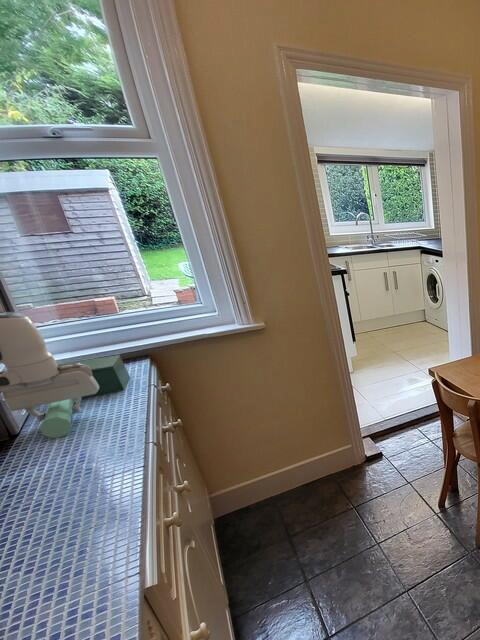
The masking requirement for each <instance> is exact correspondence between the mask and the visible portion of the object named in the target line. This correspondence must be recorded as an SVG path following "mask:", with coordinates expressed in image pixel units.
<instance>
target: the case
mask: <svg viewBox="0 0 480 640" xmlns="http://www.w3.org/2000/svg"><path fill="white" fill-rule="evenodd" d="M92 373H93V374H92V376H93V377H94V379H95V380H96V381H97V383H98V385H99V390H98V392H97V393H96V394H92V395H87V396H82V397H81V400H84V399H89V398H93V397H98V396H102V395H109V394H112V393H117V392H122V391H125V389H126V387H127V386H128V383H129V381H130V379H131V376H130V374H129V372H128V370H127V368H126V365H125V363H124V361H123V359H122V357H121V356H120V358H119V360H118V362H117V363H116V365H115V367H114V368H112V369H106V370H100V371H94V372H92Z"/></svg>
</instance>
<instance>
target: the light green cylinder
mask: <svg viewBox="0 0 480 640" xmlns="http://www.w3.org/2000/svg"><path fill="white" fill-rule="evenodd" d="M72 406H74V402H73V401H72V399H68V400H63V401H58V402H54V403H49V404H47V407H46V411H45V413H46V414H45V418H44V420H42V421H41V422H42V423H41V424H40V425H39V427H38V428H39V431H40V432H41V434H42V435H43V436H44V437H48V438H53V439H58V438H61V437H64V436H67V435H69V433H70V431H71V430H72V429H73V424H72V423H71V422H72V416H73V411H72V409H71V408H72Z"/></svg>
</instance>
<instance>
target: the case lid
mask: <svg viewBox="0 0 480 640" xmlns="http://www.w3.org/2000/svg"><path fill="white" fill-rule="evenodd" d="M120 357H121V355H120V354H115V355H109V356H102V357H97V358H91V359H84V360H83V359H82V360H78V361H77V360H76V361H71V362H65V363H64V362H63V363H57V365H58V367H61V366H67V365H73V364H84V365H87V366H89V367H90V369H91V371H92V372H94V371H100V370H106V369H112V368H114V367H115V365H116V363H117V362H118V360H119V358H120ZM81 367H82V366H81Z"/></svg>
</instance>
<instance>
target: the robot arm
mask: <svg viewBox="0 0 480 640" xmlns="http://www.w3.org/2000/svg"><path fill="white" fill-rule="evenodd" d="M0 364H3V365H4V367H5V368H6V369H5V370H2V371H0V391H1V392H2V393H3V396H4V399H5V401H6V402H7V404H8V406H9V409H10V410H11V412H15V411H20V410H25V412H26V413H28V414H30V415H32V416H34V417H35V418H36V420H37V421H38V422H43V421H44V418H45V414H46V411H45V412H40V411H38V410H37V409H36V408H37V407H39V406H43V405H48V404H49V403H54V402H58V401H63V400H68V399H72V401H73V403H75V404H74V405H73V406H72V408H71V409H72V414H77V413H81V412H82V411H83V410H82V407H81V406H80V405H81V402H82V399H81V397H82V396H87V395H92V394H96V393H97V392H98V390H99V385H98V383H97V381H96V380H95V379H94V377H93V376H92V374H93V373H92V371H91V369H90V367H89V366H87V365H84V364H73V365H67V366H61V367H58V363H57V361H56V359H55V357H54V356H53V354H52V353H51V352H50V351H49V350H48V349H47V347H46V341H45V339H44V338H43V336H42V334H41V332H40V330H39V328H38V327H37V326H36V325H35V323H34V322H33V320H31V319H30V317H28V316H27V315H26V314H24V313H20V312H16V311H0ZM81 366H82V367H81Z"/></svg>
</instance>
